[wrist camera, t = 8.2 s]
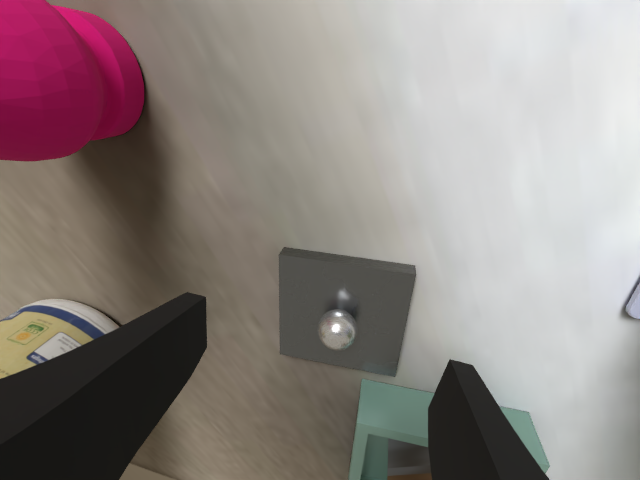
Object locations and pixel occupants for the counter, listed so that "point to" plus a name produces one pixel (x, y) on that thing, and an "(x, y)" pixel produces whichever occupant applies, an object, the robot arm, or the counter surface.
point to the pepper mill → (62, 81)
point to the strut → (408, 461)
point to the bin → (409, 427)
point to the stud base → (343, 309)
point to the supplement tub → (47, 332)
